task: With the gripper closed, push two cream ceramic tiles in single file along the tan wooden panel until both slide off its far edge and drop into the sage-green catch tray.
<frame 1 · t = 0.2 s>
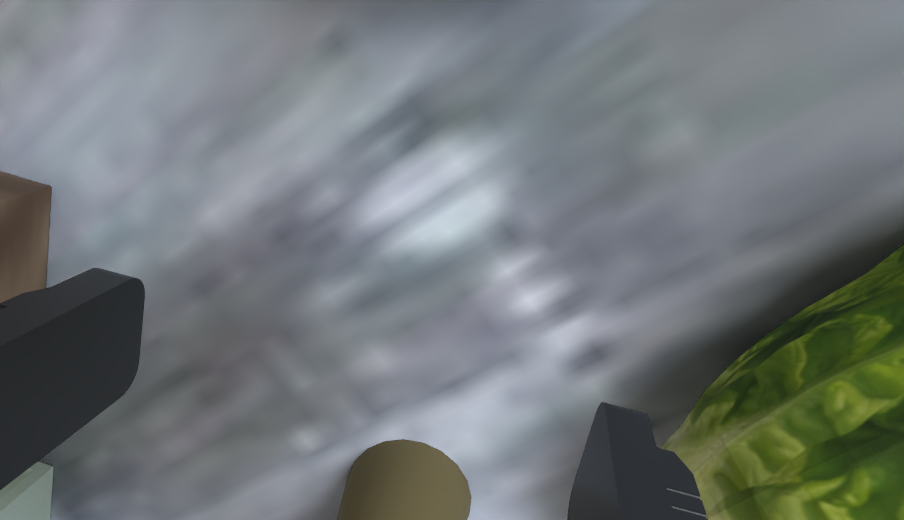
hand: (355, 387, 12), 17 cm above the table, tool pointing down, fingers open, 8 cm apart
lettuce: (858, 356, 28), on the table
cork: (409, 492, 33), on the table
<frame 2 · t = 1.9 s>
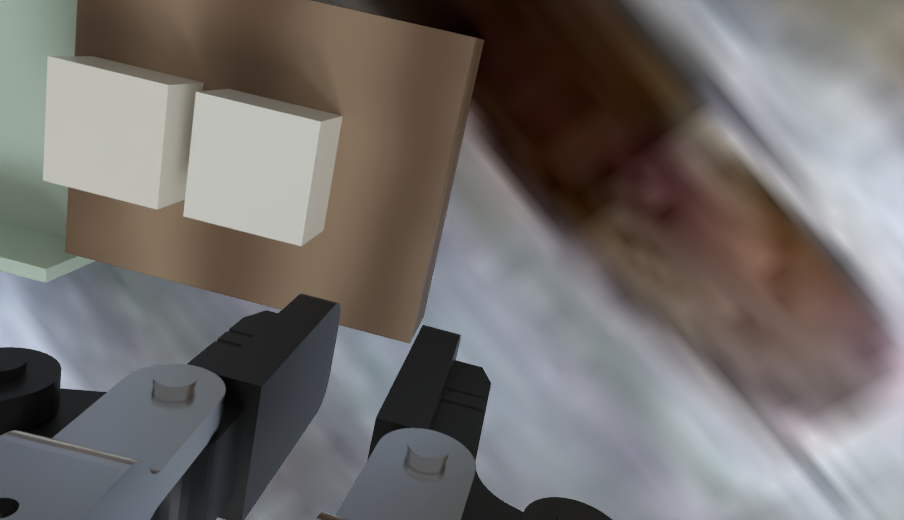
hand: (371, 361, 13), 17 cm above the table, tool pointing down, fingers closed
tile 2: (143, 127, 27), point 3 cm above the table, touching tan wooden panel
tile 1: (277, 160, 27), point 3 cm above the table, touching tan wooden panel
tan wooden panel: (281, 145, 30), on the table
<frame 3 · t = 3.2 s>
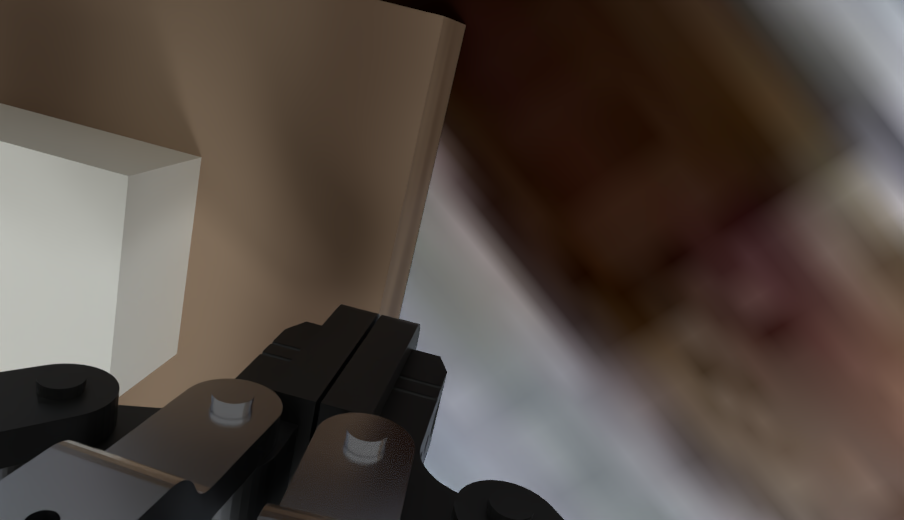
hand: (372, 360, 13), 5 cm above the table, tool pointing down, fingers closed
tile 1: (91, 232, 15), point 3 cm above the table, touching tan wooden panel
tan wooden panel: (130, 195, 18), on the table
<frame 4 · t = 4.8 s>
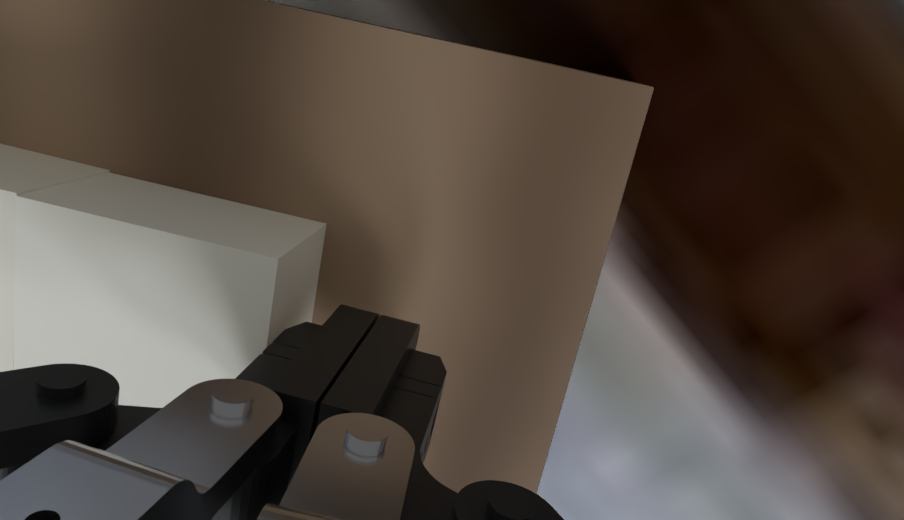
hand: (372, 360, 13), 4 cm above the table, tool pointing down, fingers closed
tile 2: (3, 250, 15), point 3 cm above the table, touching tile 1
tile 1: (205, 303, 14), point 3 cm above the table, touching tile 2, gripper, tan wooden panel
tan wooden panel: (264, 261, 17), on the table
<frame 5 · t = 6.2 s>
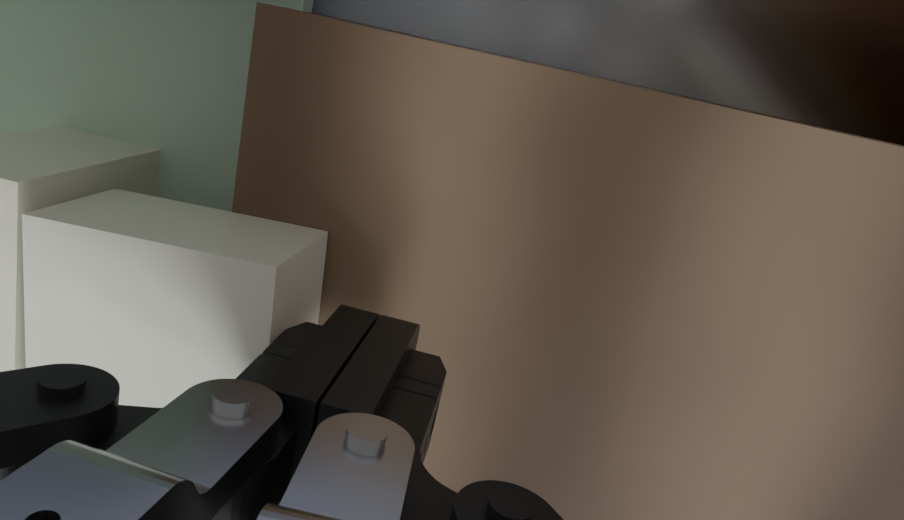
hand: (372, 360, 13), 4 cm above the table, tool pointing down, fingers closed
tile 2: (94, 267, 15), point 3 cm above the table, tilted 90°, touching catch tray
tile 1: (213, 314, 14), point 3 cm above the table, touching gripper, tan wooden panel
catch tray: (50, 207, 18), on the table
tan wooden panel: (573, 340, 17), on the table
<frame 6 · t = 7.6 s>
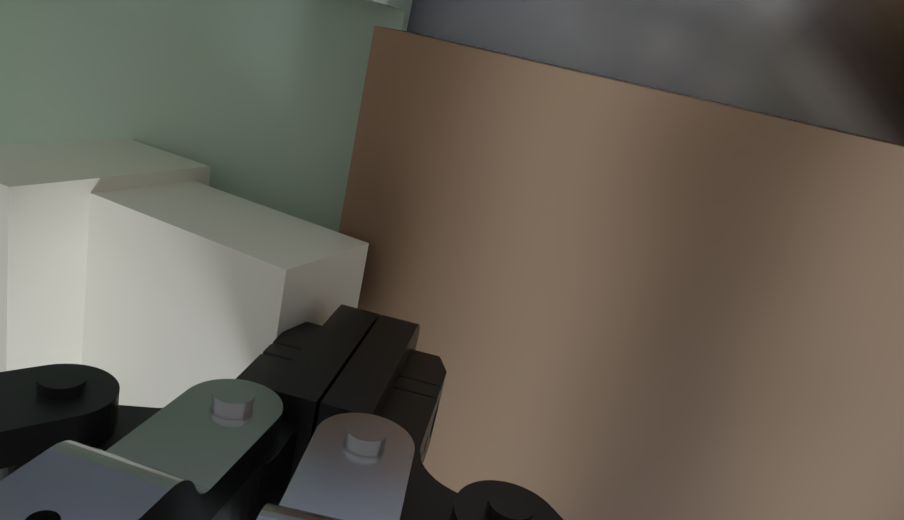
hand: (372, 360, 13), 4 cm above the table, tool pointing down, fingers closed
tile 2: (117, 283, 14), point 4 cm above the table, tilted 108°, touching catch tray, tile 1
tile 1: (262, 310, 15), point 3 cm above the table, tilted 18°, touching tile 2, gripper, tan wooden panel
catch tray: (129, 224, 17), on the table
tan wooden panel: (661, 359, 17), on the table
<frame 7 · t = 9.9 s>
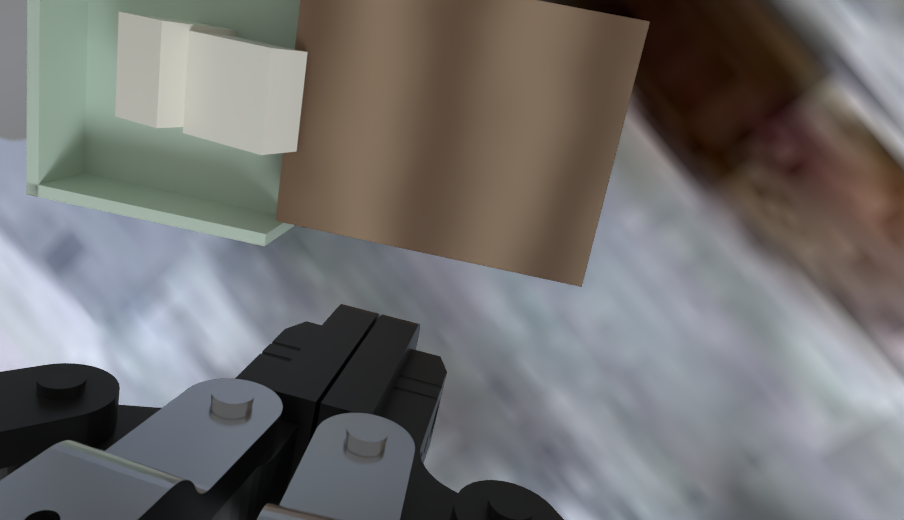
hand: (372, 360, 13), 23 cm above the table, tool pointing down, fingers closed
tile 2: (198, 77, 32), point 4 cm above the table, tilted 108°, touching catch tray, tile 1
tile 1: (262, 93, 32), point 3 cm above the table, tilted 18°, touching tile 2, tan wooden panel
catch tray: (195, 69, 35), on the table
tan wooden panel: (456, 122, 34), on the table
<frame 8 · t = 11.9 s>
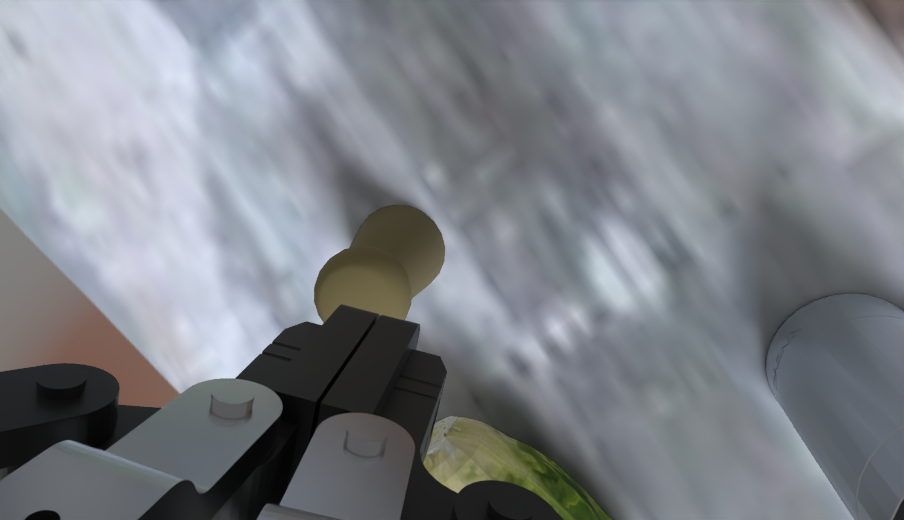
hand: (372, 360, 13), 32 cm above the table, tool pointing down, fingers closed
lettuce: (531, 499, 50), on the table
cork: (400, 248, 46), on the table
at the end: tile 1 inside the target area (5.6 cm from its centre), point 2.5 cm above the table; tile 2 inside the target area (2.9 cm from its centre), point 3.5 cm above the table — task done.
